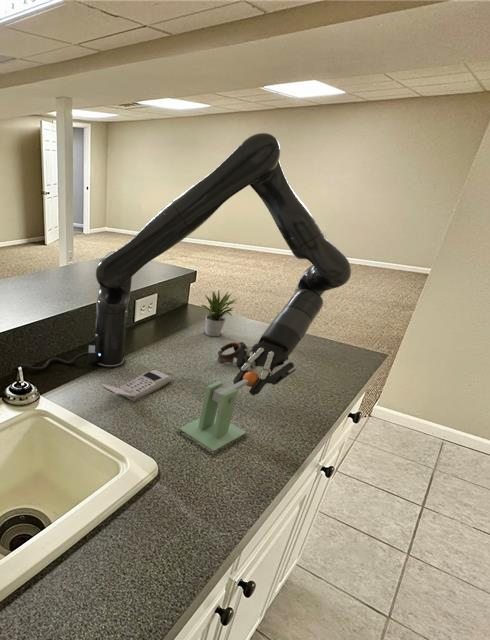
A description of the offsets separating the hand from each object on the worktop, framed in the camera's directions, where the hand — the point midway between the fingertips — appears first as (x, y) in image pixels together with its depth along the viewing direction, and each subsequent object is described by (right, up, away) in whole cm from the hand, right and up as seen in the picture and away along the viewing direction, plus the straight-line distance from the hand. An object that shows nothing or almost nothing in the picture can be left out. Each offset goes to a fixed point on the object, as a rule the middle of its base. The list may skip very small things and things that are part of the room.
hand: (243, 389), depth 94 cm
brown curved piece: (+11, +7, +33) cm, 36 cm away
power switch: (-8, -11, 0) cm, 13 cm away
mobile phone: (-22, -1, +16) cm, 28 cm away
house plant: (+11, +19, +54) cm, 59 cm away
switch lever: (-3, -1, -2) cm, 3 cm away
